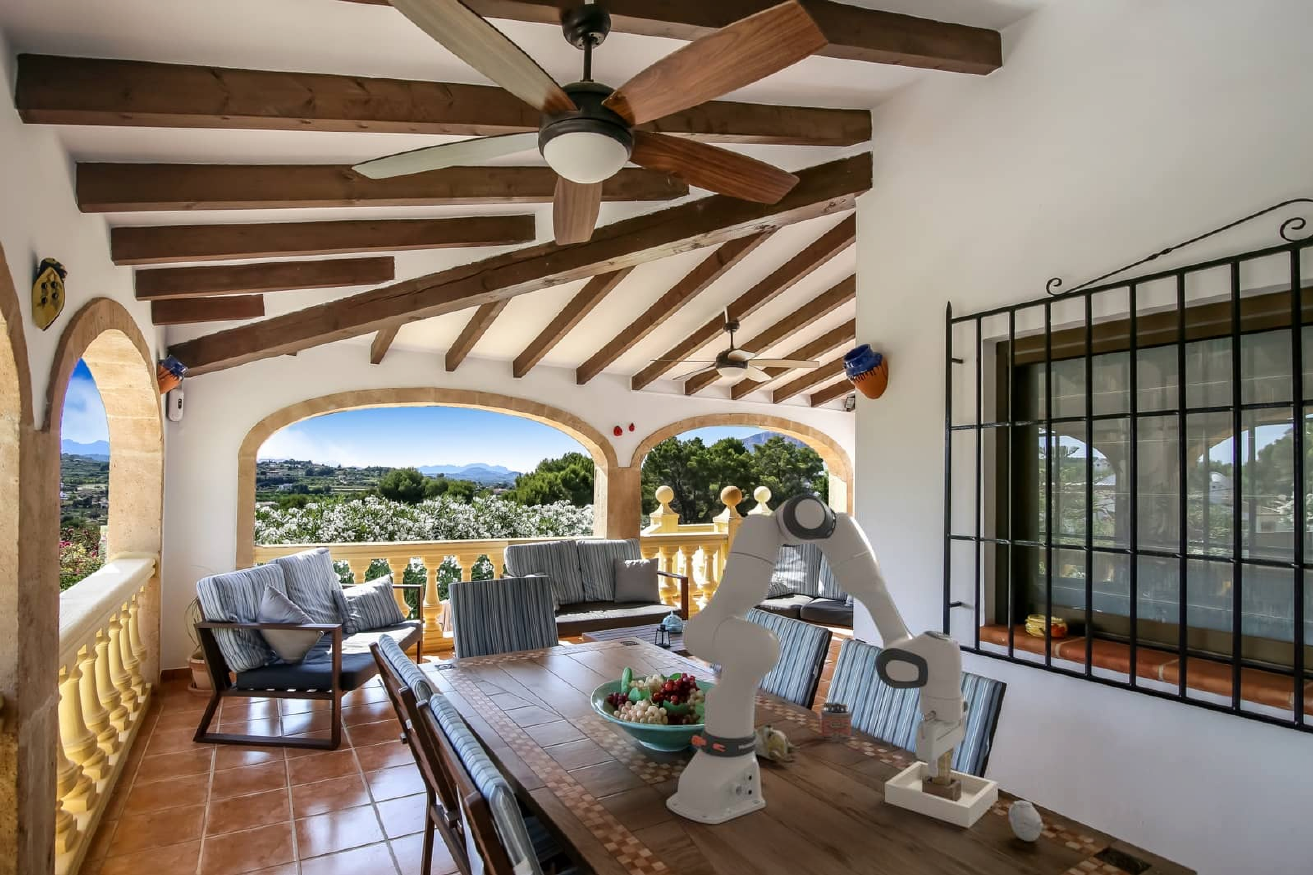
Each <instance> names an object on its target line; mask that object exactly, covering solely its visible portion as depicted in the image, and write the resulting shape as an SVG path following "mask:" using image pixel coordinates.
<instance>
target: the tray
mask: <svg viewBox="0 0 1313 875" xmlns="http://www.w3.org/2000/svg"><path fill="white" fill-rule="evenodd" d="M998 785H999V784H998V782H997V781H995V780H990V779H988V778H984V777H980V776H977V775H972V774H968V773H965V772H961V771H957V770H953V769H951V785H950V786H949V787H947V786H944V785H940V784H937V783H933V782H932V776H930V775H929V767H928V764H927V762H925V761H924V762H923V761H919V760H917V761H916V762H914V763H912V764H911V765H910V766H909V767H907V768H906V769H904V770H902V771H901V772H899V773H898V774H897V775H895V776H893V777H892V778H890V779H889V780H887V781H886V782H885V783H884V802H885V803H888V804H890V805H893V806H897V807H901V808H903V809H906V810H910V811H913V812H916V813H919V814H922V815H924V816H925V815H926V816H929V817H932V818H936V819H937V820H941V821H945V822H947V823H951V824H954V825H957V826H961V827H964V828H966V829H970V828H971V827H972V826H973V825H975V823H977V821H978V820H979V819H981V817H983V815H985V814H986V813H987V812H988V811H989V810H990V809H991V808H992V807H993V806H994V805H995V804H996V803H997V802H998V801H999V798H998V797H999V795H998V793H999V791H998V790H999V789H998ZM996 801H997V802H996ZM995 802H996V803H995ZM994 803H995V804H994ZM991 806H992V807H991ZM990 807H991V808H990ZM987 810H988V811H987Z"/></svg>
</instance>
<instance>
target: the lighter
mask: <svg viewBox="0 0 1313 875" xmlns="http://www.w3.org/2000/svg"><path fill="white" fill-rule="evenodd" d="M847 706H848V705H847V703H840V702H839V701H835V702H829V701H828V702H826V701H824V702H823V708H825V709H821V710H820V715H821V734H820V740H821V741H823V742H832V743H851V742H852V737H851V717H852V712H851V711H849V710H847ZM850 741H851V742H850Z"/></svg>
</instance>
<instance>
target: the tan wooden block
mask: <svg viewBox="0 0 1313 875" xmlns="http://www.w3.org/2000/svg"><path fill="white" fill-rule="evenodd" d="M937 765H938V767H939V775H938V776H937V777H932V782H933V783H937V784H940V785H944V786H947V787H949V786H950V785H951V770H952V769H951V767H952V766H951V755H950V750H949V751H947V752H946V753H944V754H943V755H941V756H940V757H938V762H937Z"/></svg>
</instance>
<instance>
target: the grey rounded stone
mask: <svg viewBox="0 0 1313 875" xmlns="http://www.w3.org/2000/svg"><path fill="white" fill-rule="evenodd" d="M1008 821H1009V823H1010V826H1011V829H1012V830H1013V832H1014V834H1015V835H1016V836H1017V837H1018V838H1019V839H1020V840H1022V841H1024V842H1025V841H1026V842H1034V841H1035V840H1037V839H1039V836H1040V835H1041V833H1042V832H1043V828H1044V824H1043V821H1042V819H1041V815H1040V813H1039V812H1038V811H1037V810H1036V808H1035V807H1034V806H1033V803H1032V802H1030V801H1027V800H1016V801H1013V803H1012V804H1011V805H1010V807H1009V809H1008Z"/></svg>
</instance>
